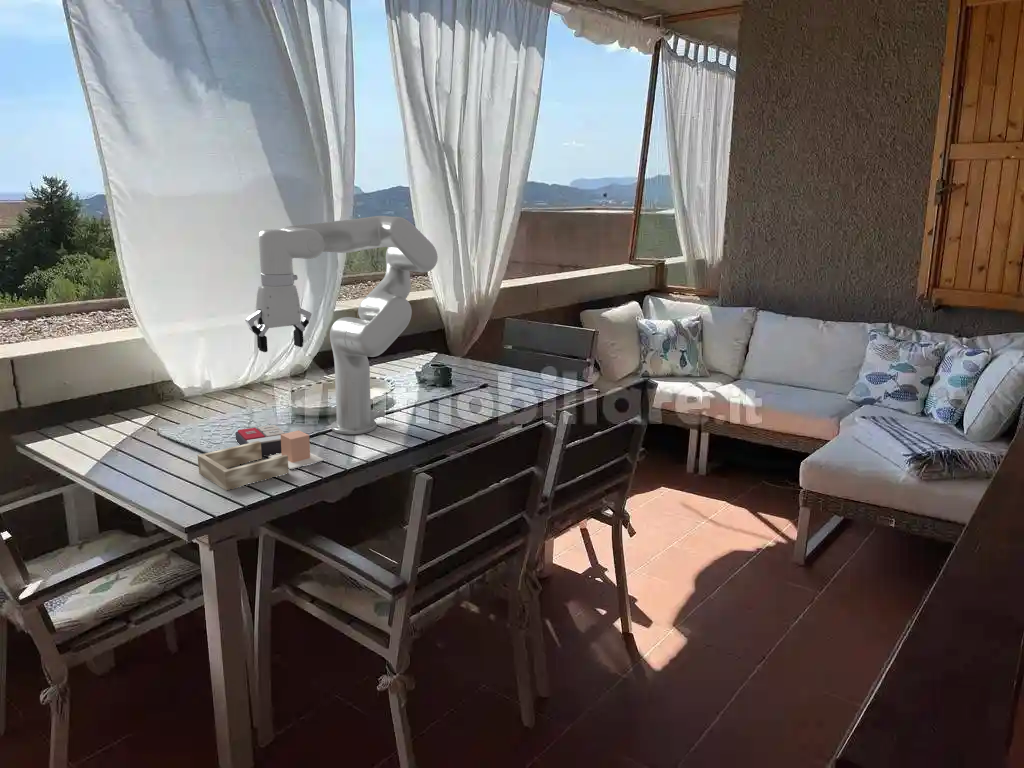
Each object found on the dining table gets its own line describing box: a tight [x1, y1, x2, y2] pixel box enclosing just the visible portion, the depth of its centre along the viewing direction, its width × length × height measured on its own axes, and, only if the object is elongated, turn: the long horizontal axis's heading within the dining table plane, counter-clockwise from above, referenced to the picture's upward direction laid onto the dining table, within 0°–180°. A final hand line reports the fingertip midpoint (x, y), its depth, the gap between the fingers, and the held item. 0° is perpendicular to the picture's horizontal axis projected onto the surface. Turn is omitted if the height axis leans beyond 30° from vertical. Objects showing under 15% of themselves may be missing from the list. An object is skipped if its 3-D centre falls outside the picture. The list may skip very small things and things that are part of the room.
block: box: [281, 430, 311, 463], centre depth 182 cm, size 5×5×6 cm
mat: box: [267, 452, 325, 470], centre depth 183 cm, size 9×11×1 cm
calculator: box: [235, 424, 286, 457], centre depth 192 cm, size 11×4×15 cm
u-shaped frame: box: [197, 441, 290, 491], centre depth 173 cm, size 15×14×4 cm
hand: (281, 348), depth 185 cm, fingers open, 9 cm apart
